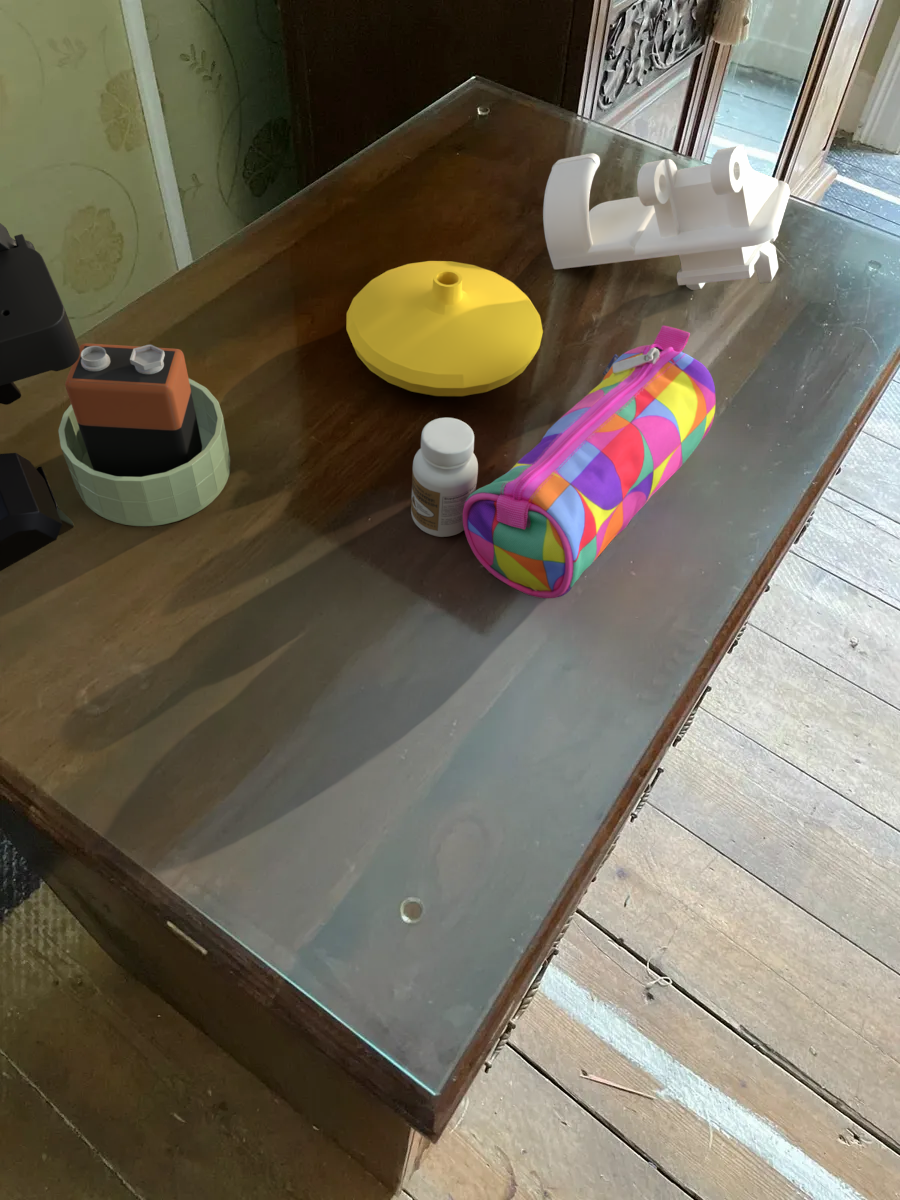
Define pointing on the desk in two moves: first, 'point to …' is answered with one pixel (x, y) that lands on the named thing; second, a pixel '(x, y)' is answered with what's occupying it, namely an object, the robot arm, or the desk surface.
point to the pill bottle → (443, 476)
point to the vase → (444, 328)
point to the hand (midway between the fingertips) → (39, 462)
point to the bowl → (156, 493)
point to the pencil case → (593, 469)
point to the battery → (134, 408)
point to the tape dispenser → (670, 218)
